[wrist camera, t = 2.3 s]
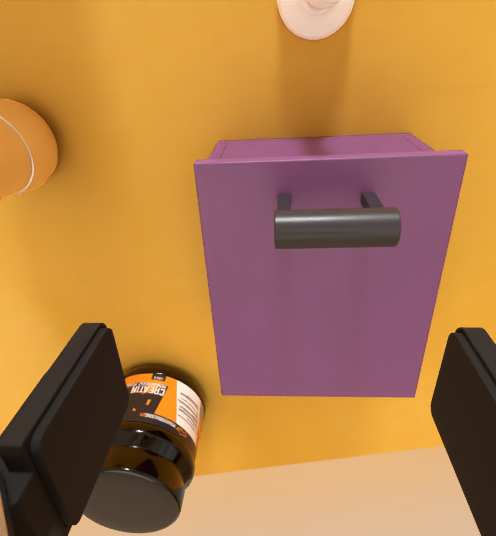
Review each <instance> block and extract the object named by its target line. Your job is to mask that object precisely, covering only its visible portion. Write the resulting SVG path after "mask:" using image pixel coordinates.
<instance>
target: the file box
mask: <svg viewBox="0 0 496 536" xmlns="http://www.w3.org/2000/svg"><path fill="white" fill-rule="evenodd" d="M421 151H435V150H434V149H432V148H431V147H429V146H428V145H426V144H425V143H424V142H422V141H421V140H419V139H418V138H416V137H415V136H413V135H412V134H411V133H402V134H378V135H354V136H330V137H306V138H282V139H257V140H233V141H218V143H217V145H216V146H215V148H214V150H213V151H212V153H211V155H210V157H209V158H208V160H210V159H236V158H263V157H289V156H316V155H342V154H368V153H395V152H421Z"/></svg>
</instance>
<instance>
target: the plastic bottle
mask: <svg viewBox="0 0 496 536" xmlns="http://www.w3.org/2000/svg"><path fill="white" fill-rule="evenodd" d="M57 163H58V147H57V143H56V140H55V137H54V135H53V133H52V131H51V129H50V128H49V126H48V125H47V124H46V122H45V121H44V120H43V119H42V118H41V117H40V116H39V115H38V114H37V113H36V112H35V111H33V110H32V109H31V108H29V107H28V106H26V105H24V104H22V103H20V102H17V101H14V100H10V99H3V98H0V201H2V200H4V199H6V198H8V197H11V196H15V195H19V194H24V193H26V192H29V191H32V190H35V189H36V188H38V187H40V186H42V185H43V184H44V183H45V182H46V181H47V180H48V179H49V177H50V176H51V175H52V173H53V172H54V170H55V169H56V166H57Z"/></svg>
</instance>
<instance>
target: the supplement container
mask: <svg viewBox="0 0 496 536" xmlns="http://www.w3.org/2000/svg"><path fill="white" fill-rule="evenodd" d="M124 378H125V382H126V385H127V389H128V393H129V404H128V408H127V410H126V413H125V415H124V417H123V420H122V422H121V425H120V427H119V429H118V432H117V434H116V436H115V439H114V441H113V443H112V446H111V448H110V451H109V453H108V455H107V458H106V460H105V462H104V465H103V467H102V470H101V472H100V474H99V477H98V479H97V481H96V484H95V486H94V489H93V491H92V493H91V496H90V498H89V500H88V503H87V505H86V507H85V510H84V512H83V514H84V515H85V516H86V517H88V518H89V519H91V520H92V521H94V522H96V523H98V524H100V525H102V526H104V527H107V528H110V529H114V530H118V531H122V532H129V533H149V532H155V531H159V530H162V529H164V528H166V527H168V526H170V525H171V524H172V523H174V522H175V521H176V520H177V518H178V517H179V515H180V511H181V507H182V502H183V497H184V492H185V489H186V488H187V487H188V486H189V485H190V483H191V481H192V479H193V476H194V471H195V458H196V453H197V448H198V443H199V438H200V433H201V428H202V423H203V420H204V416H205V411H206V404H205V399H204V396H203V393H202V391H201V390H200V388H199V387H198V385H197V384H196V383H195V382H194V381H193V380H192V379H190V378H189V377H188V376H186V375H185V374H183V373H181V372H179V371H177V370H174V369H171V368H168V367H163V366H154V365H149V366H141V367H137V368H134V369H131V370H129V371H127V372H125V373H124Z"/></svg>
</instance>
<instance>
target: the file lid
mask: <svg viewBox="0 0 496 536" xmlns="http://www.w3.org/2000/svg"><path fill="white" fill-rule="evenodd" d="M467 157H468V153H466V152H464V151H463V150H448V151H421V152H395V153H368V154H342V155H316V156H289V157H263V158H236V159H210V160H196V161H195V163H194V172H195V180H196V188H197V196H198V204H199V212H200V221H201V229H202V237H203V245H204V253H205V262H206V270H207V278H208V286H209V294H210V302H211V311H212V319H213V327H214V335H215V343H216V352H217V360H218V368H219V376H220V384H221V392H222V395H243V396H329V397H415V393H416V389H417V384H418V380H419V375H420V371H421V366H422V361H423V357H424V352H425V348H426V343H427V339H428V334H429V330H430V325H431V320H432V316H433V311H434V307H435V302H436V298H437V293H438V289H439V284H440V280H441V275H442V270H443V266H444V261H445V257H446V252H447V248H448V243H449V239H450V234H451V230H452V225H453V220H454V216H455V211H456V207H457V202H458V198H459V193H460V189H461V184H462V179H463V175H464V170H465V166H466V161H467Z"/></svg>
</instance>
